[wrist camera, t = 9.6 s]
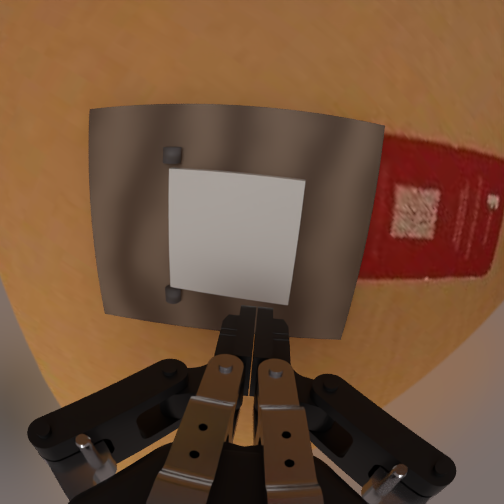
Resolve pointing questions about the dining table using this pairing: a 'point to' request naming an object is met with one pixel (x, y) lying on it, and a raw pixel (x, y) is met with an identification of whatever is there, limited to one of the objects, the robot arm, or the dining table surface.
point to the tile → (234, 233)
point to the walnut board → (235, 160)
